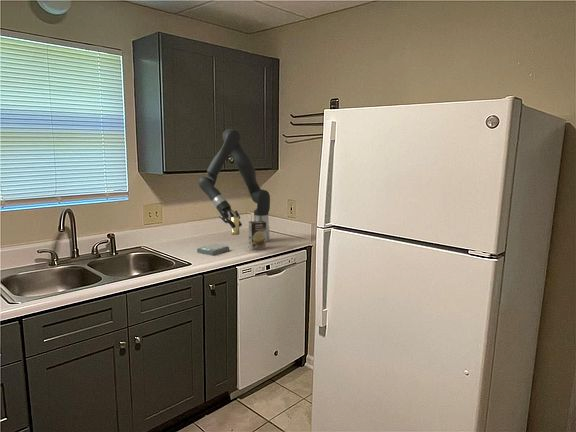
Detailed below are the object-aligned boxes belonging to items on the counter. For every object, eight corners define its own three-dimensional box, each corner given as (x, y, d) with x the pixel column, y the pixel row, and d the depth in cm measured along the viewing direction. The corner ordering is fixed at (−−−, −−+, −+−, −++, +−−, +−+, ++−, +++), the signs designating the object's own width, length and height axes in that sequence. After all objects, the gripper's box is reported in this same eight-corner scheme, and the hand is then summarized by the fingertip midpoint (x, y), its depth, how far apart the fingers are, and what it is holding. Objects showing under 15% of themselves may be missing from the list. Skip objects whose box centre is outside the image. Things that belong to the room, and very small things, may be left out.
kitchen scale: (214, 248, 263) (214, 243, 262) (229, 250, 256) (229, 245, 255) (197, 252, 251) (197, 247, 251) (212, 255, 244) (212, 250, 244)
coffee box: (251, 250, 257) (251, 223, 255) (248, 247, 263) (248, 221, 261) (266, 248, 261) (266, 222, 258) (263, 246, 267) (263, 220, 264)
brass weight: (234, 232, 257) (234, 216, 255) (241, 233, 254) (240, 216, 252) (229, 234, 253) (228, 217, 251) (235, 235, 250) (235, 218, 248)
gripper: (216, 201, 248) (232, 224, 244) (232, 198, 260) (249, 220, 255) (209, 210, 252) (226, 232, 247) (226, 206, 264) (242, 228, 259)
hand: (237, 226), depth 251 cm, fingers closed on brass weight, 4 cm apart
